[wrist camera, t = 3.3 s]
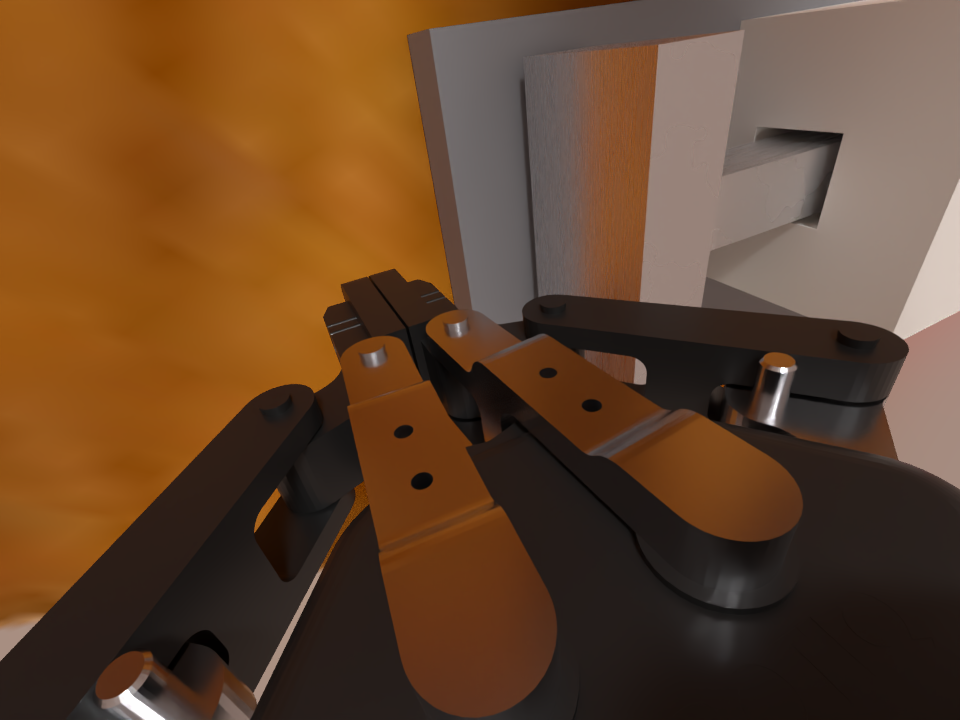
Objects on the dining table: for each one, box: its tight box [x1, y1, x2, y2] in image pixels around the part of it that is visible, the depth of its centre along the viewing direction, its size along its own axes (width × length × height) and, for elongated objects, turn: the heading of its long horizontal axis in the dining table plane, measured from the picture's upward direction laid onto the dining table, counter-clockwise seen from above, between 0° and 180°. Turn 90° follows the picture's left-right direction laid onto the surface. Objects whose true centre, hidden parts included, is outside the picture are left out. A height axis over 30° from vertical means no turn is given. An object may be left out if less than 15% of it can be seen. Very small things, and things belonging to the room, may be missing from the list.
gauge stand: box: [407, 0, 960, 340], centre depth 19 cm, size 17×23×10 cm
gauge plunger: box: [523, 30, 844, 385], centre depth 18 cm, size 16×11×6 cm
